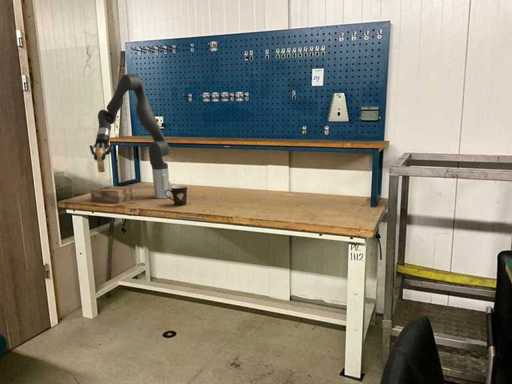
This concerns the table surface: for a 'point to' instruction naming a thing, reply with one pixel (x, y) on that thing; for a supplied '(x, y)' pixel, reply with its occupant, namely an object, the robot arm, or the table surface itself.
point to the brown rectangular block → (111, 194)
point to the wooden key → (100, 160)
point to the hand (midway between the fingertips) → (99, 159)
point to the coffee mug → (178, 195)
